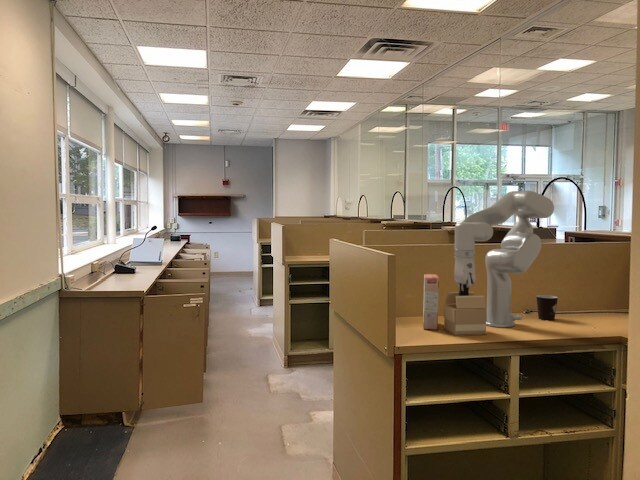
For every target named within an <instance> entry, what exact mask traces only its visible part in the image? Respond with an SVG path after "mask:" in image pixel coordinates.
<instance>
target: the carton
mask: <svg viewBox="0 0 640 480" xmlns="http://www.w3.org/2000/svg"><path fill="white" fill-rule="evenodd" d="M443 318H444V321H443V325H444V331H447V332H448V333H450V334H452V335H453V336H455V337H457V336H458V337H461V336H486V335H487V334H486V333H487V325H486V322H487V307H486V308H469V309H457V305H456V304H446V303H445V304H444V305H443Z"/></svg>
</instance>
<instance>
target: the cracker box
mask: <svg viewBox="0 0 640 480" xmlns="http://www.w3.org/2000/svg"><path fill="white" fill-rule="evenodd" d="M439 290H440V277H439V274H435V273H426V274H425V273H424V274H423V299H422V301H423V303H422V306H423V308H422V309H423V310H422V324H423V325H422V327H423V330H433V331H437V330H439V329H438V328H439V327H438V325H439V324H438V323H439V296H440V295H439V294H440V293H439Z"/></svg>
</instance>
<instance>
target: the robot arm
mask: <svg viewBox="0 0 640 480" xmlns="http://www.w3.org/2000/svg"><path fill="white" fill-rule="evenodd" d="M554 211H555V204H554V203H553V201H552V199H550V198H549V197H547V196H545V195H543V194H541V193H538V192H537V191H536V192H535V191H534V190H533V191H532V190H515V191H514V190H513V191H509V192H507V193H505V194H504V195H503V196H501V198H499V199H498V200H497V201H496V202H495V203H493V204H492V205H491V206H489V207H486V208H484V209H482V210H479V211H477V212H475V213H472V214H470V215H469V216H467V217H465V218H464V219H463V220H462V221H461V222H458V223H455V226H454V251H453V252H454V257H453V258H454V259H455V260H454V271H453V273H454V274H453V277H454V281H455V282H456V285H458V292H459V296H469V292H470V289H471V288H472V285H475V284H476V282H477V281H476V280H477V275H476V263H475V250H476V249H475V245H476V244H475V243H476V242H487V241H488V240H489V241H490V239H491V238H492V237H493V235H494V229H493V226H499V225H501V224H505V222H507V221H508V220H509V219H510V218H511V217H512V216H513V220H514V223H513V226H511V229H510V230H509V231H508V232H507V233H506V235H505V236H504V237H503V239H502V240H501V241H500V242H501V243H500V248H494V249H491V250H489V251H487V253H486V255H485V258H484V262H485V263H484V264H485V268H486V277H487V278H486V279H487V280H486V281H487V283H486V285H487V287H486V309H487V322H486V326H489V327H495V328H512V327H514V326H515V324H516V323H515V321H522V320H523V316H522V315H519V314H518V315H516V314H514V313H512V286H513V285H512V280H511V277H510V275H509V274H514V275H515V274H517V275H520V274H524V273H525V272H526V271H527V270H528V269H529V268H530V267H531V265H532V264H533V263H534V261H535V260H536V258H537V257H538V256H539V254H540V252H541V249H542V240H541V238H540V236H538V235H537V234H536V233H534V227H533V225H532V223H531V222H530V219H547V218H550V217H551V216H552V215H553V214H554Z"/></svg>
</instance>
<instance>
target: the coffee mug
mask: <svg viewBox="0 0 640 480" xmlns="http://www.w3.org/2000/svg"><path fill="white" fill-rule="evenodd" d="M558 299H559V296H555V295H549V294H547V295H546V294H545V295H544V294H538V295H536V307H537V315H538V317H537V318H538V320H540V319H541V320H540V321H546V320H548V322H549V321H550V322H552V321H555V319H556V314H557V313H556V312H557V306H558Z"/></svg>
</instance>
